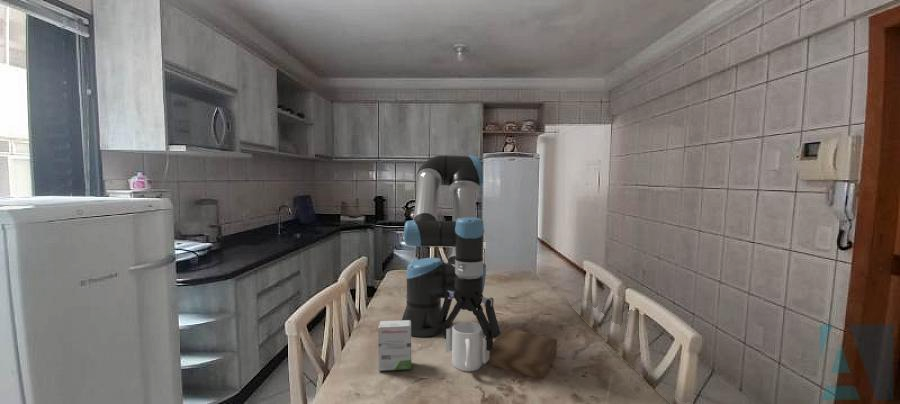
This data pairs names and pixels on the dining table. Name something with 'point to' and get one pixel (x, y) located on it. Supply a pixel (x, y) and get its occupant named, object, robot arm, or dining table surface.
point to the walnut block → (523, 352)
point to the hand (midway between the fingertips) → (467, 355)
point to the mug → (467, 346)
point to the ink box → (394, 345)
